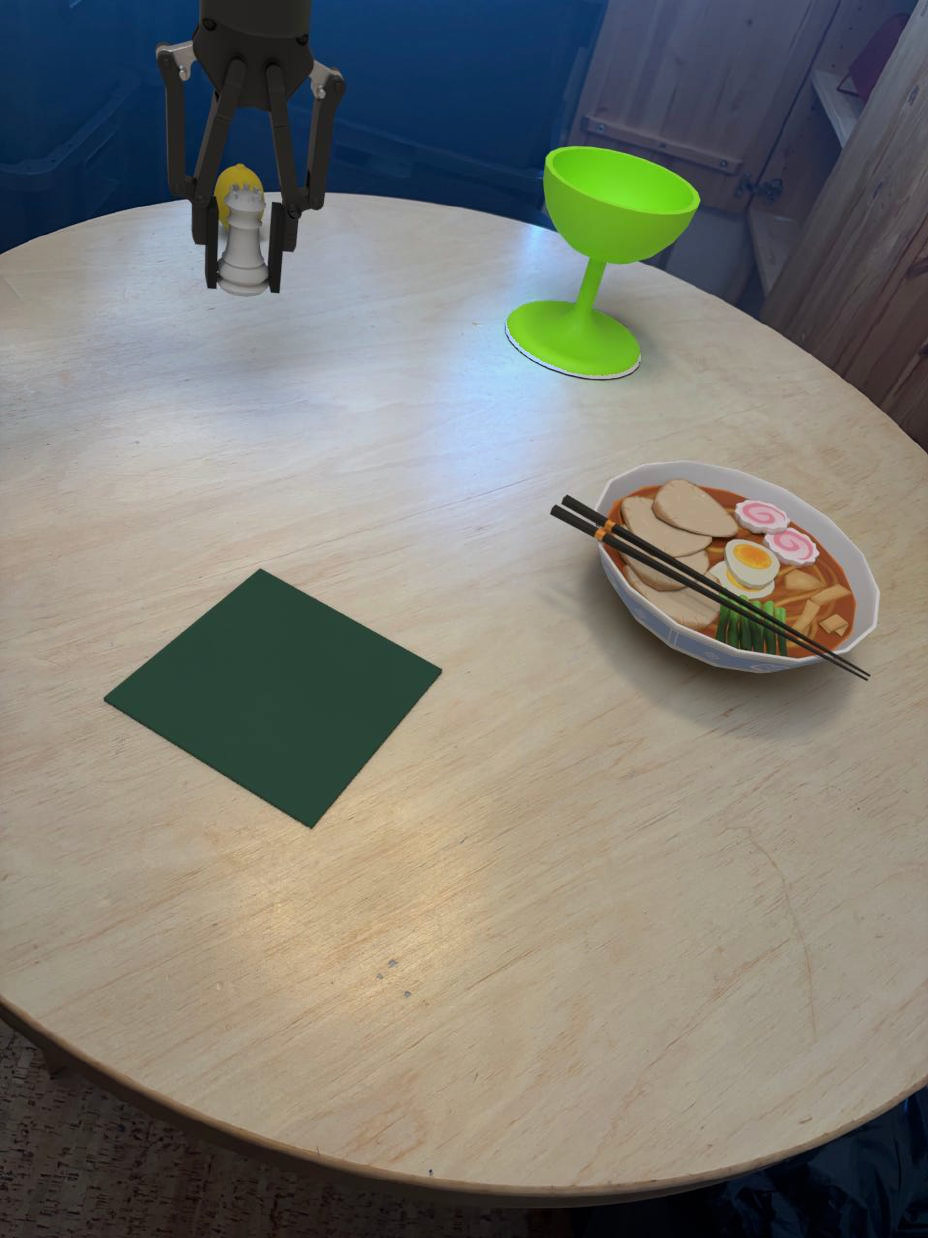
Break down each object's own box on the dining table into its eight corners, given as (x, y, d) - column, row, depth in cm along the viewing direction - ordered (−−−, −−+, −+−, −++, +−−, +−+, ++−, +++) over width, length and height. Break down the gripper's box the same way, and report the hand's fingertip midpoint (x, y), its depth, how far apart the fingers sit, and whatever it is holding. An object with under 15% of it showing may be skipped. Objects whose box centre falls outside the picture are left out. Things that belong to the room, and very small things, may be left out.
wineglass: (640, 394, 101) (702, 229, 89) (495, 356, 101) (537, 185, 89) (642, 327, 113) (698, 172, 101) (513, 292, 113) (552, 133, 100)
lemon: (246, 222, 112) (249, 152, 106) (271, 243, 109) (276, 172, 104) (204, 227, 109) (204, 155, 103) (228, 249, 106) (230, 176, 100)
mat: (103, 700, 60) (103, 697, 60) (259, 570, 71) (260, 567, 71) (311, 829, 57) (311, 826, 56) (441, 672, 68) (442, 669, 68)
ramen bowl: (880, 624, 82) (931, 553, 76) (795, 789, 67) (851, 716, 61) (630, 487, 89) (660, 413, 83) (502, 608, 74) (528, 527, 68)
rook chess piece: (231, 302, 78) (234, 205, 72) (204, 276, 80) (205, 180, 74) (279, 294, 80) (285, 199, 75) (251, 269, 82) (255, 175, 77)
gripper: (121, -53, 58) (133, 298, 75) (396, -4, 64) (352, 312, 80) (118, -83, 63) (130, 253, 79) (374, -35, 69) (337, 269, 85)
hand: (242, 282), depth 80 cm, fingers closed on rook chess piece, 4 cm apart
